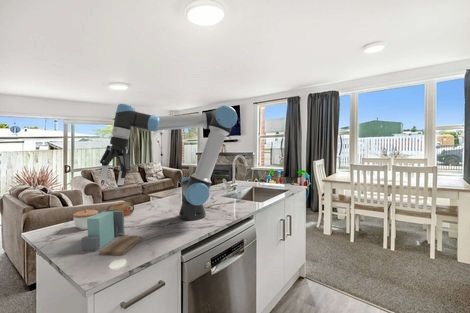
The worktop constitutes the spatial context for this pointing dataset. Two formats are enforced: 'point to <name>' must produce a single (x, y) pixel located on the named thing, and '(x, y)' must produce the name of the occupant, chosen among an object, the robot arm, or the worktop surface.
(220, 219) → the worktop surface
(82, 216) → the lidded jar
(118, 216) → the module cradle
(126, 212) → the tin
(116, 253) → the walnut board
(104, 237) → the block
